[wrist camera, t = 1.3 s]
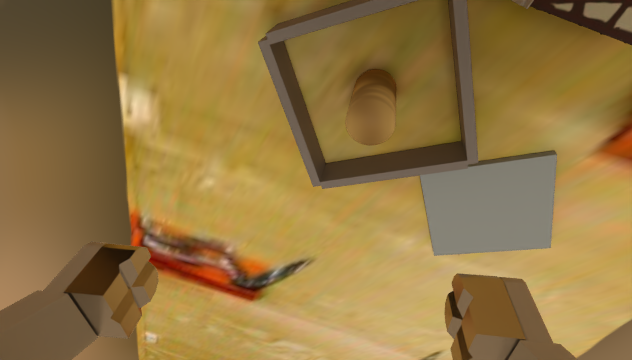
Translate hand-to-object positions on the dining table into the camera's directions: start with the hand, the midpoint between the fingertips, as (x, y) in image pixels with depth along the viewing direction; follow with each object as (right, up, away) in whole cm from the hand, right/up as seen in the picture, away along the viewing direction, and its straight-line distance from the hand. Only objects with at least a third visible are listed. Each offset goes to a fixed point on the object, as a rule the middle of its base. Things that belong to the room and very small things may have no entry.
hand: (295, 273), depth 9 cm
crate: (+7, +12, +28) cm, 31 cm away
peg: (+7, +12, +28) cm, 31 cm away
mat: (+22, -1, +34) cm, 40 cm away
